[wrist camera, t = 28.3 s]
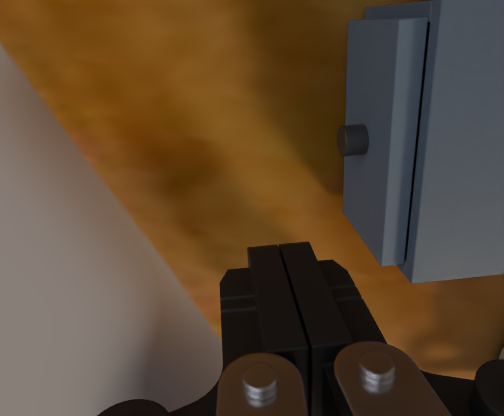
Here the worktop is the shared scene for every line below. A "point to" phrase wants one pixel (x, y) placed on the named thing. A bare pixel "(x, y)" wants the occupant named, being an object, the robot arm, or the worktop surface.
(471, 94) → the cabinet
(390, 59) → the drawer
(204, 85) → the worktop surface
